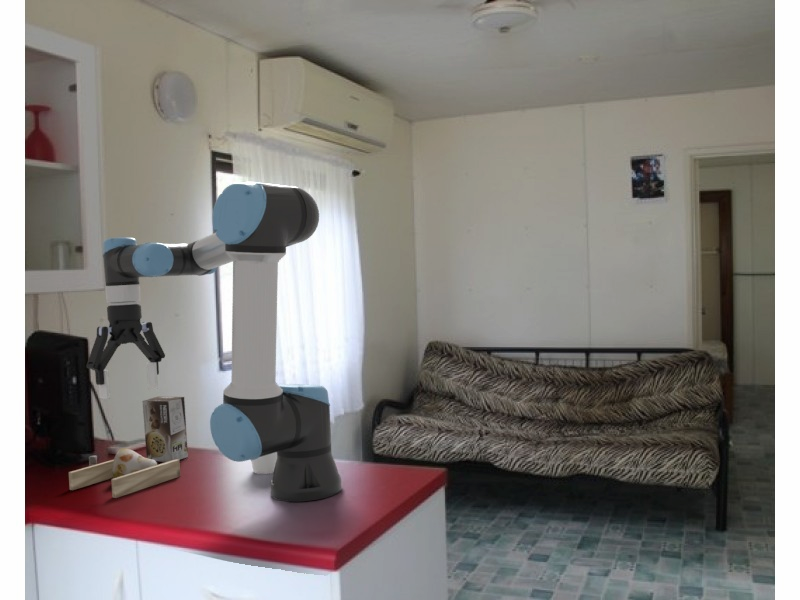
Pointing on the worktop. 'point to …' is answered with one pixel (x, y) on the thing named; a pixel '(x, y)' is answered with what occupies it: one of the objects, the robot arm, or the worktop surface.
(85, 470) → the bay
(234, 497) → the worktop surface
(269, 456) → the cup
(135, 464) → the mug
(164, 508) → the worktop surface
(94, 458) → the crank handle
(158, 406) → the cookie box
